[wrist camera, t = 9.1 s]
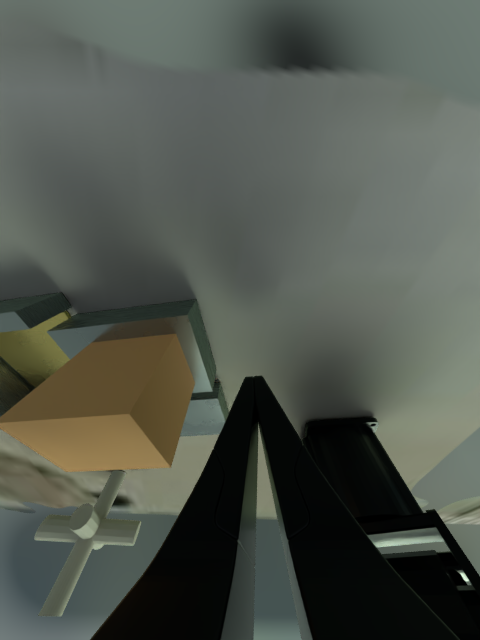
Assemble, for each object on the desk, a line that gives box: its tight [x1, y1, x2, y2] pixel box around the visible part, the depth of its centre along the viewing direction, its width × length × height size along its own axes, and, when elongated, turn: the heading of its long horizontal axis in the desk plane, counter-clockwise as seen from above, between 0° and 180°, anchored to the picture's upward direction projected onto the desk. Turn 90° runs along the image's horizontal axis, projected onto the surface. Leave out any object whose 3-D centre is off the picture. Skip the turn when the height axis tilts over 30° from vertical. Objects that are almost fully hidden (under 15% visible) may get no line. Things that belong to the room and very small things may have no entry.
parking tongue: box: [180, 382, 229, 436], centre depth 15 cm, size 7×5×2 cm
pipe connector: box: [35, 470, 141, 616], centre depth 20 cm, size 10×10×10 cm
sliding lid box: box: [0, 293, 216, 417], centre depth 12 cm, size 17×9×2 cm, turn 98°
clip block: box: [0, 334, 195, 472], centre depth 9 cm, size 5×4×4 cm
